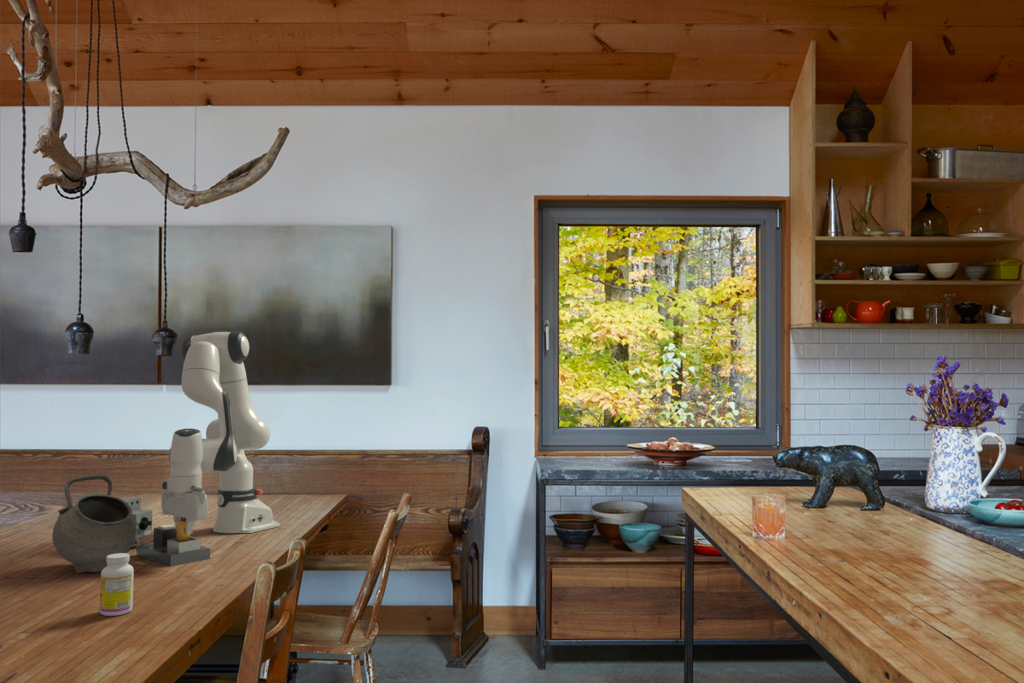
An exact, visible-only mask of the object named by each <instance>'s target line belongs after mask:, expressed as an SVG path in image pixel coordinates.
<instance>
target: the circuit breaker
mask: <svg viewBox="0 0 1024 683" xmlns="http://www.w3.org/2000/svg"><path fill="white" fill-rule="evenodd" d="M117 497H118V498H120V499H122V500H124V501H125V502H126V503H127V504H128V505H129V506H130V507H131V509H132V515H131V517H130V518H131V519H132V520H133V522H134V523H135V525H136V533H135V539H134V543H133V545H132V548H135V547H137V545H140V538H143V537H146V536H150V535H152V531H153V510H152V509H141V499H142V498H141V497H137V496H136V497H134V496H117ZM134 546H135V547H134Z"/></svg>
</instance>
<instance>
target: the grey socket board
mask: <svg viewBox="0 0 1024 683" xmlns="http://www.w3.org/2000/svg"><path fill="white" fill-rule="evenodd" d="M152 540H153V541H152V542H148V543H141V544H139V545H137V546H136V556H137V555H138V557H140V556H141V558H144V559H147V560H150V561H153V562H156V563H159V564H163V565H165V566H168V567H173V566H179V565H183V564H184V565H185V564H189V563H190V564H191V563H194V562H199V561H205V560H210V559H211V548H210V547H207V546H203V545H202V544H201V542H202V540H201V538H197V537H193V536H191V535H190V541H184V542H178V541H176V540H177V531H176V530H175V528H174V529H167V530H162V529H158V527H154V528H153V538H152Z"/></svg>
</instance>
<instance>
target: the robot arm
mask: <svg viewBox="0 0 1024 683" xmlns="http://www.w3.org/2000/svg"><path fill="white" fill-rule="evenodd" d="M249 354H250V342H249V339H248V337H247V336H246V335H245V334H244V332H241V331H234V330H233V331H215V332H210V333H203V334H198V335H197V334H193V335H191V336H187V337H185V338H184V340H183V341H182V343H181V344H180V356H181V359H182V360H183V366H182V367H183V368H182V373H181V390H182V393H184V395H185V396H186V397H187V398H188V399H189V400H191V401H193V402H194V403H197V404H200V405H202V406H205V407H208V408H209V409H212V410H214V411H215V412H216V413H217V419H214V420H212V421H210V422H209V423H208V425H207V427H206V430H205V438H202V431H201V430H199V429H196V428H188V427H187V428H182V429H178V430H175V431H174V433H173V434H172V440H171V447H170V448H169V458H168V460H169V461H168V462H169V463H170V467H171V468H170V472H169V478H167V479H166V480H163V481H161V483H160V489H161V490H162V491H161V502H160V503H161V512H162V513H163V514H165V515H170V516H173V518H172V519H173V522H174V525H175V530H176V531H177V521H178V520H180V517H182V518H186V522H187V525H186V527H184V533H186V534H190V535H191V534H193V528H194V526H195V523H196V522H200V521H205V520H208V516H209V506H208V504H209V503H208V496H207V494H206V492H205V491H204V489H203V487H202V485H203V484H202V483H203V471H215V472H217V471H219V485H218V486H219V489H218V490H217V513H216V519H215V523H214V525H213V529H212V531H213V532H214V533H220V534H252V533H257V532H261V531H266V530H268V529H273V528H278V527H280V522H278V521H277V520H274V515H273V510H272V509H271V507H269V506H268V505H266V504H265V503H264V502H262V500H260V499H258V496H262V495H263V493H264V492H263V491H262V489H259V488H257V489H255V488H254V467H253V464H252V463H251V462H250V460H249V459H248V458H247V456H246V454H245V451H255V450H259V449H260V450H261V449H262V448H264V447H265V446H266V445H267V444H268V443H269V441H270V436H271V431H270V427H269V426H268V424H267V423H266V422H265V421H263V419H261V418H260V416H259V414H258V413H257V411H256V409H255V408H254V405H253V403H252V400H251V396H250V389H249V386H248V385H249V384H248V378H247V372H246V371H247V370H246V367H245V364H244V361H245V360H246V359H247V357H248V356H249ZM257 495H258V496H257Z"/></svg>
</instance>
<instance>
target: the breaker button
mask: <svg viewBox="0 0 1024 683" xmlns="http://www.w3.org/2000/svg"><path fill="white" fill-rule="evenodd" d="M175 526H176V525H175V524H164V525H163V524H162V525H158V527H157V528H158V529H162V530H167V529H174V528H175Z"/></svg>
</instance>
